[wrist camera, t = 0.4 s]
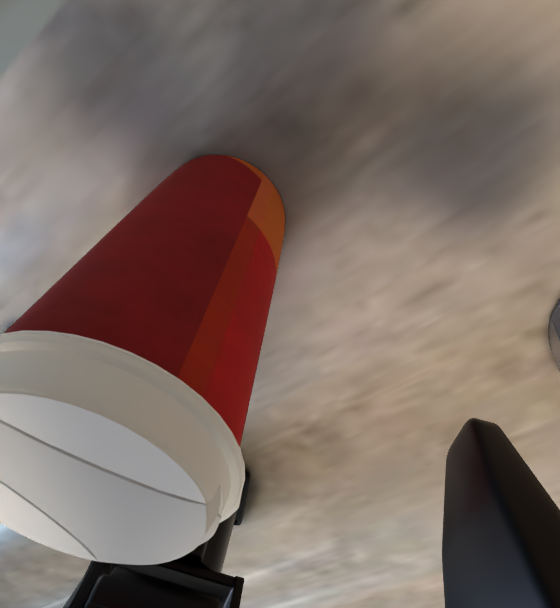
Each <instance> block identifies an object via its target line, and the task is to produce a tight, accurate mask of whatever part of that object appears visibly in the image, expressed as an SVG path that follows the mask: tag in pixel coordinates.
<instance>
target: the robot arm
mask: <svg viewBox="0 0 560 608" xmlns="http://www.w3.org/2000/svg"><path fill="white" fill-rule="evenodd" d="M249 480H250V473H249V472H247V471H245V482H244V486H243V489H242V494H241V499H240V505H239V508H238V509H237V510H236V511H235V512H234V513H233V514H232V515H231V516H230V517H229V518H227V519H225V520H224V521H222V522H221V523H219V525H218V528H217V530H216V532H215V534H214V535H213V536H212V537H211V538H210V539H209V540H207V541H206V542H205V543H203V544H201V545H199V546H198V547H196V548H195V549H194V550H193V551H191V552H190V553H188V554H186V555H185V556H183V557H180V558H178V559H175V560H172V561H170V562H165V563H160V564H152V565H130V564H116V563H106V562H99V561H93V560H92V561H91V563H90V565H89V567H88V569H87V571H86V573H85V575H84V577H83V578H82V580H81V582H80V583H79V584H78V586H77V587H76V589H75V590H74V592H73V593H72V595H71V596H70V598H69V599H68V601H67V602H66V604H65V605H64V607H63V608H239V606H240V600H241V594H242V589H243V583H244V578H241V577H238V576H236V577H232V576H229V575H226V574H222V573H221V571H222V567H223V563H224V559H225V555H226V551H227V548H228V544H229V540H230V536H231V532H232V528H233V525H240V524H241V522H242V518H243V513H244V507H245V502H246V496H247V491H248V486H249ZM442 563H443V581H444V596H445V608H560V510H559V508H558V507H557V506H556V504H555V503H554V501H553V500H552V499H551V497H550V496H549V495H548V493H547V492H546V490H545V489H544V488H543V486H542V485H541V483H540V482H539V481H538V479H537V478H536V477H535V475H534V474H533V472H532V471H531V470H530V468H529V467H528V466H527V464H526V463H525V461H524V460H523V459H522V457H521V456H520V455H519V453H518V452H517V450H516V449H515V448H514V446H513V445H512V443H511V442H510V441H509V439H508V438H507V437H506V435H505V434H504V432H503V431H502V430H501V428H500V427H499V426H498V425H496V424H495V423H491V422H488V421H484V420H480V419H476V418H471V419H469V420H468V421H467V422H466V423H465V425H464V426H463V428H462V429H461V431H460V432H459V434H458V436H457V437H456V439H455V440H454V442H453V444H452V445H451V447H450V449H449V451H448V455H447V459H446V475H445V496H444V518H443V539H442Z"/></svg>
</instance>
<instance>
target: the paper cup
mask: <svg viewBox="0 0 560 608" xmlns="http://www.w3.org/2000/svg"><path fill="white" fill-rule="evenodd" d="M284 230H285V212H284V206H283V203H282V200H281V197H280V195H279V193H278V191H277V189H276V188H275V186H274V185H273V184H272V182H271V181H270V180H269V179H268V178H267V177H266V176H265V175H264V174H263V173H262V172H261V171H260V170H258V169H257V168H256V167H254V166H253V165H251V164H249V163H247V162H245V161H243V160H241V159H238V158H235V157H231V156H226V155H206V156H201V157H198V158H195V159H193V160H190V161H188V162H187V163H185V164H183V165H182V166H181V167H179V168H178V169H177V170H175V171H174V172H173V173H172V174H171V175H170V176H168V177H167V178H166V179H165V180H164V181H163V182H162V183H161V184H159V185H158V186H157V187H156V188H155V189H154V190H153V191H152V192H151V193H150V194H149V195H148V196H147V197H145V198H144V199H143V200H142V201H141V202H140V203H139V204H138V205H137V206H136V207H135V208H134V209H133V210H132V211H131V212H130V213H129V214H127V215H126V216H125V217H124V218H123V219H122V220H121V221H120V222H119V223H118V224H117V225H116V226H115V227H114V228H113V229H112V230H111V231H110V232H109V233H108V234H106V235H105V236H104V237H103V238H102V239H101V240H100V241H99V242H98V243H97V244H96V245H95V246H94V247H93V248H92V249H91V250H90V251H89V252H88V253H87V254H86V255H85V256H84V257H82V258H81V259H80V260H79V261H78V262H77V263H76V264H75V265H74V266H73V267H72V268H71V269H70V270H69V271H68V272H67V273H66V274H65V275H64V276H63V277H62V278H61V279H60V280H59V281H58V282H56V283H55V284H54V285H53V286H52V287H51V288H50V289H49V290H48V291H47V292H46V293H45V294H44V295H43V296H42V297H41V298H40V299H39V300H38V301H37V302H36V303H35V304H34V305H33V306H31V307H30V308H29V309H28V310H27V311H26V312H25V313H24V314H23V315H22V316H21V317H20V318H19V319H18V320H17V321H16V322H15V323H14V324H13V325H12V326H11V327H10V328H9V329H7V330H6V331H5V332H4V333H1V334H0V523H1V524H3V525H5V526H7V527H8V528H10V529H12V530H14V531H15V532H17V533H19V534H21V535H23V536H25V537H27V538H29V539H31V540H33V541H36V542H38V543H40V544H43V545H45V546H48V547H50V548H52V549H55V550H58V551H61V552H64V553H67V554H70V555H73V556H77V557H81V558H85V559H88V560H93V561H99V562H106V563H116V564H130V565H152V564H160V563H165V562H170V561H172V560H175V559H178V558H180V557H183V556H185V555H186V554H188V553H190V552H191V551H193V550H194V549H195V548H196V547H198V546H199V545H201V544H203V543H205V542H206V541H207V540H209V539H210V538H211V537H212V536H213V535H214V534H215V532H216V530H217V528H218V525H219V523H221V522H222V521H224V520H225V519H227V518H229V517H230V516H231V515H232V514H233V513H234V512H235V511H236V510H237V509H238V508H239V505H240V499H241V494H242V489H243V486H244V482H245V464H244V460H243V456H242V452H241V449H240V443H241V439H242V434H243V429H244V425H245V420H246V415H247V411H248V406H249V401H250V397H251V392H252V387H253V383H254V378H255V373H256V369H257V364H258V360H259V355H260V350H261V346H262V341H263V336H264V332H265V327H266V322H267V318H268V313H269V308H270V303H271V299H272V294H273V289H274V284H275V279H276V274H277V270H278V265H279V260H280V255H281V249H282V243H283V238H284Z"/></svg>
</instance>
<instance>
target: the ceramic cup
mask: <svg viewBox="0 0 560 608" xmlns="http://www.w3.org/2000/svg"><path fill="white" fill-rule="evenodd" d="M549 337H550V346H551V349H552V352H553V355H554V357H555V360H556V363H557V366H558V369H559V371H560V300H559V301H558V303H557V305H556V307H555V309H554V311H553V314H552V317H551V320H550V326H549Z"/></svg>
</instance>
